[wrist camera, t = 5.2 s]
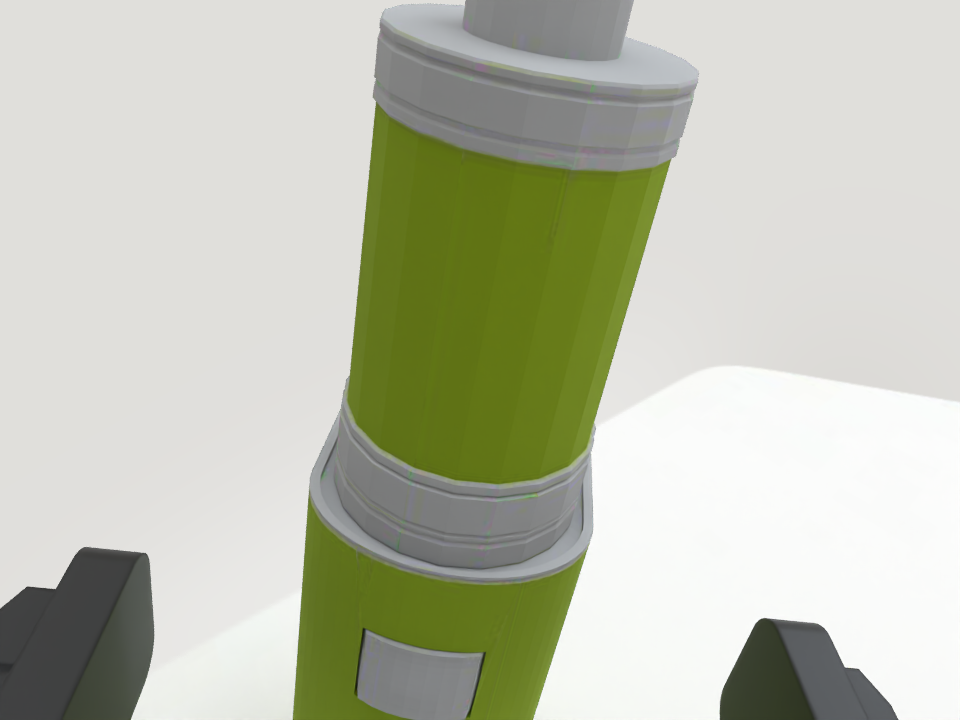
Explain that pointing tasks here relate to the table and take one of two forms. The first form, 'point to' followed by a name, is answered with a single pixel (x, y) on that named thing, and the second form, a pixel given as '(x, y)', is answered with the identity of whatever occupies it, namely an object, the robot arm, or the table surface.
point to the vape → (480, 352)
